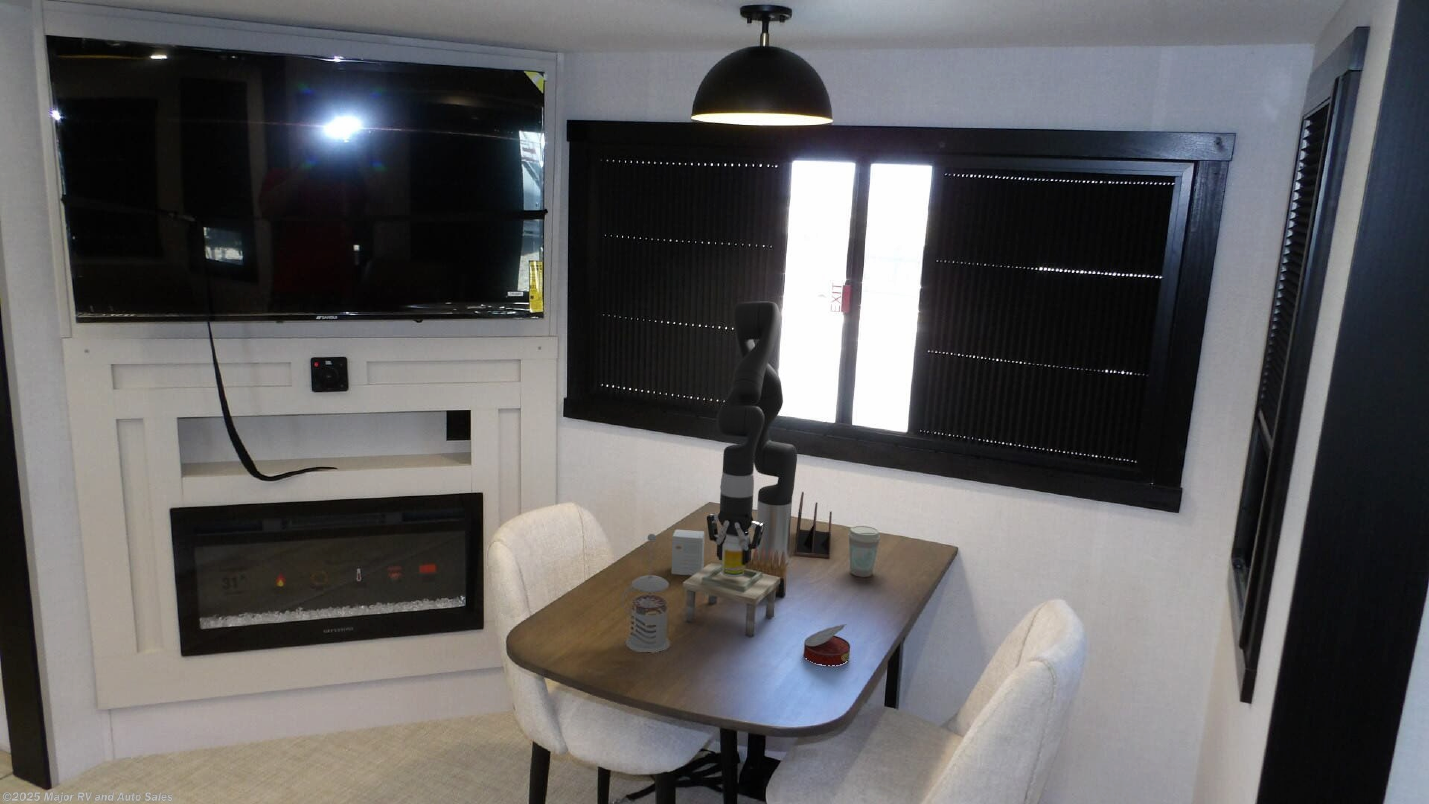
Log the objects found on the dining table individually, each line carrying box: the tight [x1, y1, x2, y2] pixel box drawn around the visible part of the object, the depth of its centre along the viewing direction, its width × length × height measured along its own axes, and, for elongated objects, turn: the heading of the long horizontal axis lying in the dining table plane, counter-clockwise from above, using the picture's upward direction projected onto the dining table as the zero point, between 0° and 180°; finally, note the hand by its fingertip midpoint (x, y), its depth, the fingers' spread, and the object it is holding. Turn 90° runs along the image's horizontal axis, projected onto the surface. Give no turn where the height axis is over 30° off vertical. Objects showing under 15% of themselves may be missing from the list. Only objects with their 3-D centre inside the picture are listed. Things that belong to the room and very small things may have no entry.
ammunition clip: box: [745, 548, 787, 599], centre depth 240 cm, size 11×2×12 cm, turn 72°
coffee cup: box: [847, 525, 881, 578], centre depth 257 cm, size 8×8×12 cm
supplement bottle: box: [720, 534, 745, 578], centre depth 222 cm, size 5×5×10 cm
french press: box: [621, 533, 671, 653], centre depth 209 cm, size 10×12×25 cm
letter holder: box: [793, 491, 833, 559], centre depth 276 cm, size 10×20×14 cm, turn 173°
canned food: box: [803, 623, 851, 666], centre depth 207 cm, size 11×10×10 cm
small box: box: [671, 529, 705, 576], centre depth 252 cm, size 8×6×10 cm
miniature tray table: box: [682, 562, 780, 638], centre depth 224 cm, size 15×18×11 cm
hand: (733, 561), depth 223 cm, fingers closed on supplement bottle, 5 cm apart
